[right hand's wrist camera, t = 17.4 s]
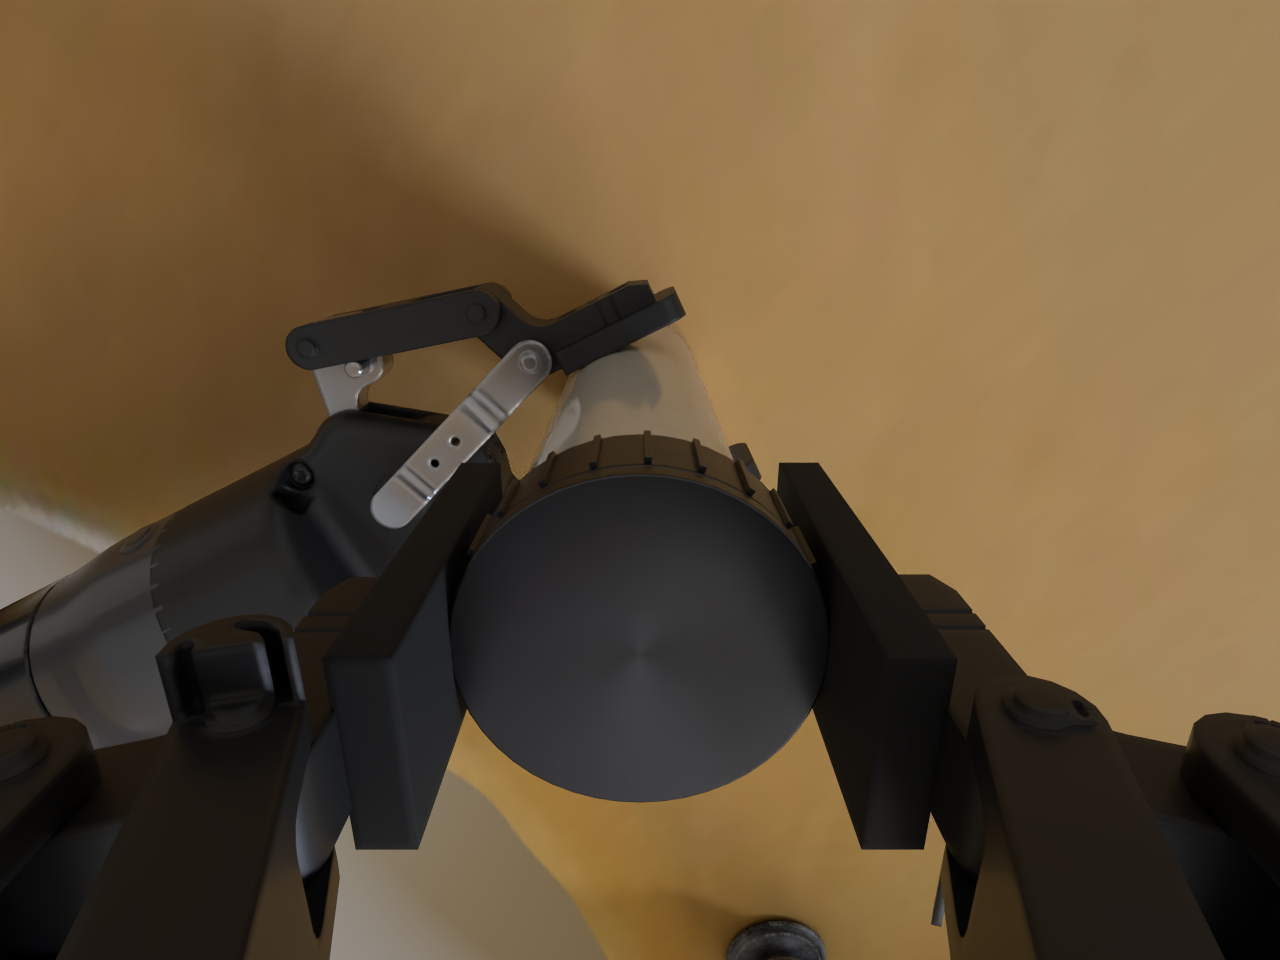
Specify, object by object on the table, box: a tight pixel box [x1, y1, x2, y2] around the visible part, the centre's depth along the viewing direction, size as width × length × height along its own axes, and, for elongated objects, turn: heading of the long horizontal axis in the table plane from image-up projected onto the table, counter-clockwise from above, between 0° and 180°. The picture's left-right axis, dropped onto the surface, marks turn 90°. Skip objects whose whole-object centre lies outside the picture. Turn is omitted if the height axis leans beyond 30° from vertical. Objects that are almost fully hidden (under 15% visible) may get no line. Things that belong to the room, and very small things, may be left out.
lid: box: [449, 430, 830, 802], centre depth 11 cm, size 6×6×2 cm
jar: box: [528, 325, 734, 473], centre depth 19 cm, size 5×5×18 cm
